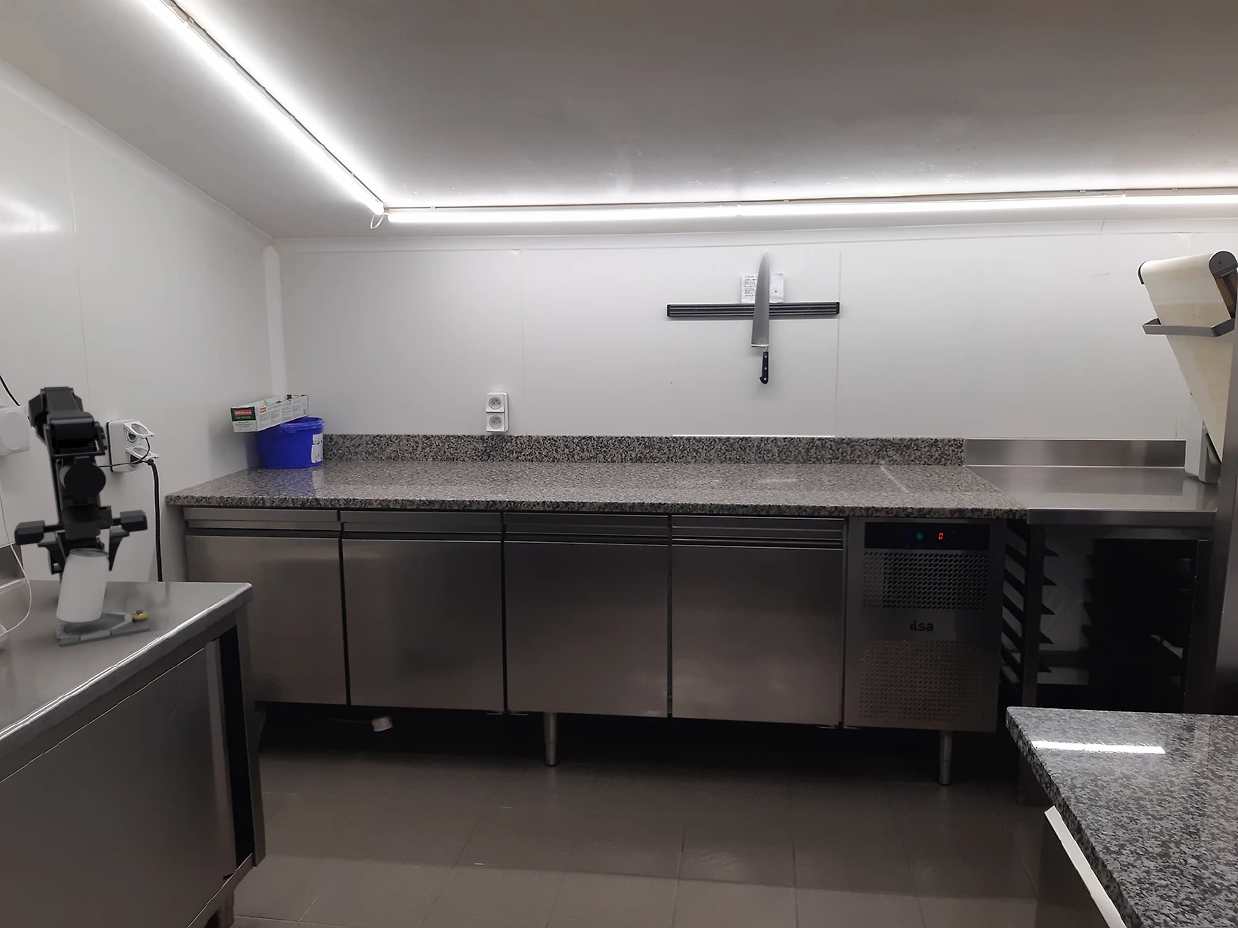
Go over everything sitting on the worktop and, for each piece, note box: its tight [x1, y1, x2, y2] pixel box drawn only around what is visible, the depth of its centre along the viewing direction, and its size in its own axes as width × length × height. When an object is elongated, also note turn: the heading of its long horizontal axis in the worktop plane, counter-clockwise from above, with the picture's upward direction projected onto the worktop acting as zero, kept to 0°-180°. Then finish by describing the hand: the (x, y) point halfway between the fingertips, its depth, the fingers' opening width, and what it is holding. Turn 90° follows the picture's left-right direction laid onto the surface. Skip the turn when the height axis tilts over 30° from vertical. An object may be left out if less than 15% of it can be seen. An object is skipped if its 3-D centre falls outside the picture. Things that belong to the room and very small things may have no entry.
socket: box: [55, 610, 132, 641], centre depth 133 cm, size 11×11×1 cm
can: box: [55, 548, 109, 623], centre depth 131 cm, size 6×6×12 cm
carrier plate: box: [59, 612, 151, 648], centre depth 134 cm, size 10×13×1 cm
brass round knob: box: [132, 608, 149, 622], centre depth 137 cm, size 2×2×2 cm
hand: (89, 573), depth 132 cm, fingers closed on can, 6 cm apart
